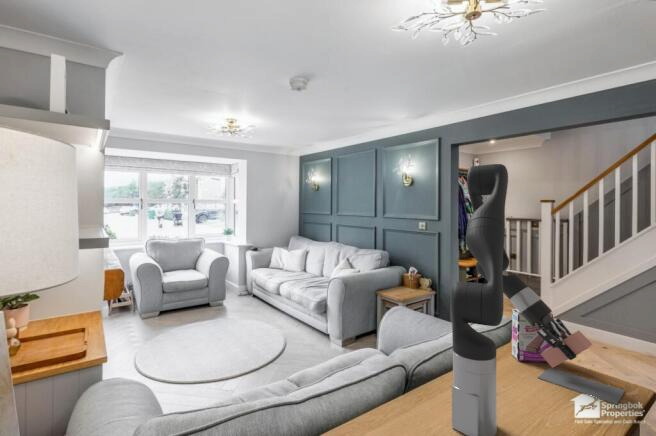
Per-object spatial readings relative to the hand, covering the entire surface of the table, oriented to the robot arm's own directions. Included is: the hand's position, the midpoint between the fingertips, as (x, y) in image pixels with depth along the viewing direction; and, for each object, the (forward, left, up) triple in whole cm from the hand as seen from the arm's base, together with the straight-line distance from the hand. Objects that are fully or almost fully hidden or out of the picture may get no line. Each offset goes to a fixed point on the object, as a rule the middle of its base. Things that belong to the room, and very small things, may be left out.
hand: (576, 355), depth 95 cm
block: (0, +7, -3) cm, 8 cm away
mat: (0, -1, -8) cm, 8 cm away
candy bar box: (+8, +14, -8) cm, 18 cm away
